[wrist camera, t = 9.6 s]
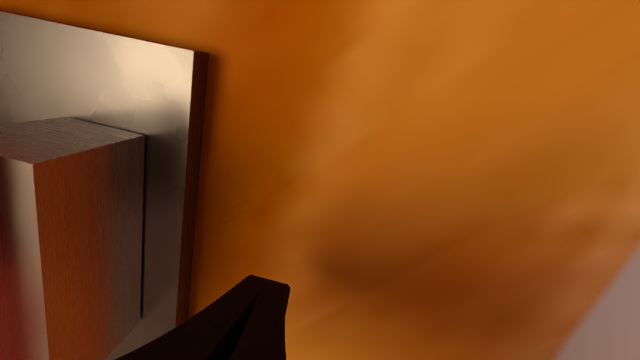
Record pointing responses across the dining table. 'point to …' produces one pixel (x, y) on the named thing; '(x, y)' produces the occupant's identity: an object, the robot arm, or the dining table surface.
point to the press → (130, 115)
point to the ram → (69, 238)
